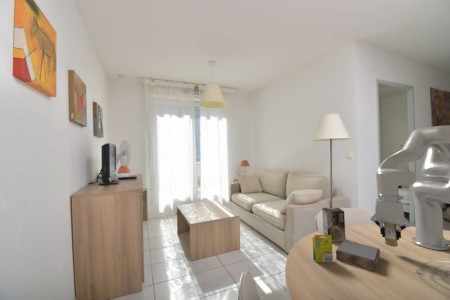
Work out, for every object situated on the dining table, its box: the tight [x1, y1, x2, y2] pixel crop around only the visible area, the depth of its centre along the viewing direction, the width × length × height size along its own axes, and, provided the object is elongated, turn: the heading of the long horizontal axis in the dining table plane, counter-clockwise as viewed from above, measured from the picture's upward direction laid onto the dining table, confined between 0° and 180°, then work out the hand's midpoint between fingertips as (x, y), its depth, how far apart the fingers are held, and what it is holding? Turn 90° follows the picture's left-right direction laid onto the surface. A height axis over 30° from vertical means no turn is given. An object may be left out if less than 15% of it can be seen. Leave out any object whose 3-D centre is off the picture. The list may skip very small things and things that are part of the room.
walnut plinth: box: [335, 239, 381, 272], centre depth 86 cm, size 14×14×4 cm
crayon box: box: [312, 234, 334, 264], centre depth 85 cm, size 7×3×12 cm, turn 86°
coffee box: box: [321, 207, 347, 243], centre depth 106 cm, size 9×6×16 cm
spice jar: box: [383, 219, 398, 248], centre depth 90 cm, size 5×5×14 cm
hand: (390, 237), depth 90 cm, fingers closed on spice jar, 4 cm apart
